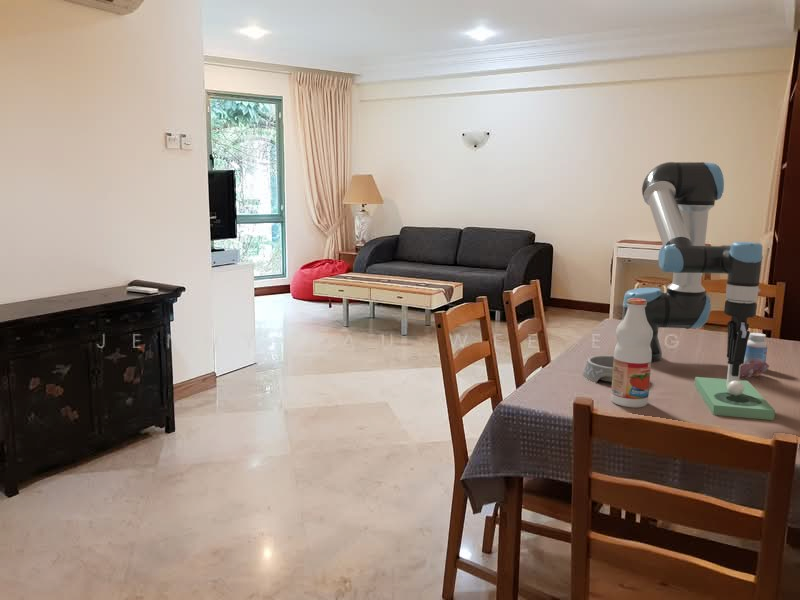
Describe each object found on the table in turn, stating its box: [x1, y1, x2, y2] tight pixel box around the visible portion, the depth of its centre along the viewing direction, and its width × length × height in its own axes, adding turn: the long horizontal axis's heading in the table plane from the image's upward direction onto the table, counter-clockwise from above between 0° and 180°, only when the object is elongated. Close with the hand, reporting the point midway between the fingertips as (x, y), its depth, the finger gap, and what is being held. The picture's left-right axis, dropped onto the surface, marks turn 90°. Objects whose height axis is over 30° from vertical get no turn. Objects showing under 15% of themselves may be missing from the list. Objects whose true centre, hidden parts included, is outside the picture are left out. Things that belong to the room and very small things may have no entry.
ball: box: [727, 381, 744, 396], centre depth 174 cm, size 4×4×4 cm
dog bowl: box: [582, 355, 614, 384], centre depth 198 cm, size 17×18×5 cm
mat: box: [693, 376, 776, 421], centre depth 178 cm, size 26×14×2 cm, turn 166°
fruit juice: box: [610, 298, 653, 408], centre depth 173 cm, size 9×9×28 cm
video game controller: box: [740, 360, 770, 379], centre depth 200 cm, size 10×5×7 cm, turn 114°
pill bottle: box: [744, 332, 768, 364], centre depth 210 cm, size 6×6×11 cm
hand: (732, 386), depth 178 cm, fingers closed
